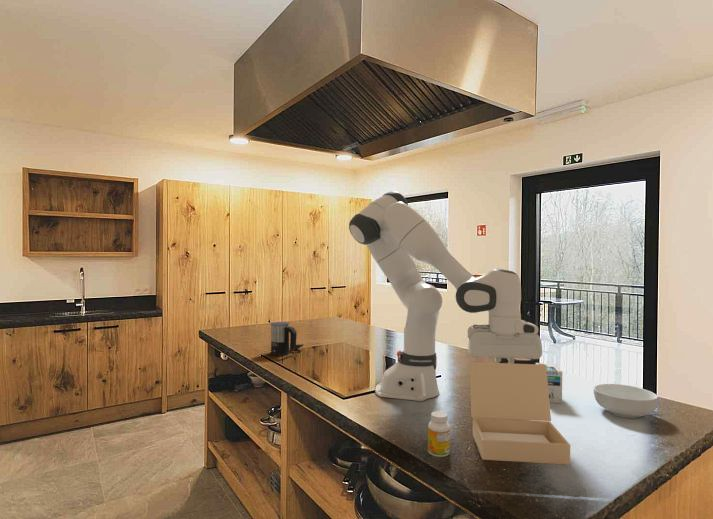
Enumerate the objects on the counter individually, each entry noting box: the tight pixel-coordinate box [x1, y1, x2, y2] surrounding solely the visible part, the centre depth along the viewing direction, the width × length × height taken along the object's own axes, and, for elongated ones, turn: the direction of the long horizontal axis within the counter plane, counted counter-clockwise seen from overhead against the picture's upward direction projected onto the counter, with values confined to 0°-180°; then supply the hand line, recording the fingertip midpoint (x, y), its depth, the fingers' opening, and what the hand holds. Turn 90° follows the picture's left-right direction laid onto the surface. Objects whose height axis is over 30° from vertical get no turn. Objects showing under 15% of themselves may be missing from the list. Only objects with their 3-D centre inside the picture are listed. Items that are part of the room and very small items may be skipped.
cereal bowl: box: [593, 383, 659, 419], centre depth 135 cm, size 17×17×7 cm
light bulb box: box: [536, 362, 563, 404], centre depth 149 cm, size 11×7×11 cm, turn 168°
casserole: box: [499, 358, 540, 364], centre depth 174 cm, size 25×19×8 cm
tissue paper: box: [482, 432, 549, 443], centre depth 109 cm, size 16×11×2 cm
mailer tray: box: [472, 417, 571, 465], centre depth 109 cm, size 20×14×5 cm
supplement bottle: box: [427, 410, 451, 458], centre depth 107 cm, size 5×5×10 cm
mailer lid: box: [469, 361, 552, 422], centre depth 123 cm, size 21×15×10 cm
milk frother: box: [269, 321, 304, 356], centre depth 212 cm, size 14×16×15 cm
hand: (504, 372), depth 125 cm, fingers closed, pressing on mailer lid
